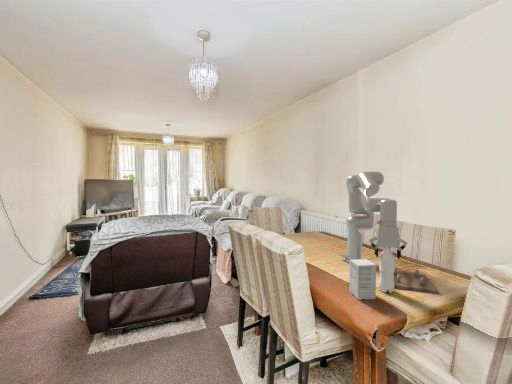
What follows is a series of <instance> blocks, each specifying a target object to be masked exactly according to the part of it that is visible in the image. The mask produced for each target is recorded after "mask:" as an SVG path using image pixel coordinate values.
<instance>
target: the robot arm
mask: <svg viewBox="0 0 512 384" xmlns="http://www.w3.org/2000/svg"><path fill="white" fill-rule="evenodd" d="M384 181H385V178H384V174H383V173H382V172H380V171H362V172H360V173H359V174H353V175H349V176H347V178H346V183H345V184H346V188H347V192H348V211H349V213H350V214H352V215H351V216H348V217H347V218H346V221H345V222H346V229H347V230H346V231H347V244H346V245H347V249H346V250H347V252H346V253H345V254H343V253H340V257H341V258H343V259H344V261H345V262H346V263H349V264H350V260H356V259H363V235H362V234H361V231H369V230H370V231H371V230H373V228H374V226H375V213H379V220H377V221H376V224H377V225H378V226H377V231H376V236H374V237H372V238H370V239H368V240H369V243H370V245H371V246H372V248H374V255H375V257H376V258H378V257H379V248H380V247H382V248H384V247H391V248H396V258H397V259H398V260H400V259H401V256H402V251H403V250H404V249H405V248H406V246H407V245H408V242H407V241H405V240H403V239H402V238H401V237H400V236H401V235H400V229H399V227H398V226H397V225H398V224H397V223H398V222H397V220H398V219H397V217H398V202H397V200H395V199H391V198H388V197H373V196H375V195H377V194H378V193H379V192H380V188H381V187H380V186H381V185H383V184H384ZM361 189H362V190H363V191H361ZM375 241H376V244H374V242H375ZM401 243H402V244H401ZM400 245H401V246H400Z"/></svg>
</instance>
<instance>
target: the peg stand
mask: <svg viewBox="0 0 512 384" xmlns="http://www.w3.org/2000/svg"><path fill="white" fill-rule="evenodd" d="M419 272H420V271H419V269H415V273H413V272H404V271H398V268H397V267H396V266H395V271H394V289H397V290H398V289H399V290H406V291H413V292H422V293H428V294H429V293H430V294H431V293H432V294H437V295H438V294H439V290H438V289H437V287H436V286H435V285H434V284H433V282H432V281H431V280H430V279H429V277H428V276H427V275H426V274H424V273H423V274H421V273H419Z"/></svg>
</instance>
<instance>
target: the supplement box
mask: <svg viewBox="0 0 512 384" xmlns="http://www.w3.org/2000/svg"><path fill="white" fill-rule="evenodd" d="M376 284H377V265H376V264H375V263H373V262H372V261H370V260H368V259H366V258H364V259H363V258H362V259H356V260H350V263H349V286H348V287H349V289H348V292H349V291H350V292H351V293H352V294H353V295H354V296H355V297H356V298H357V299H358V300H357V299H356V298H355V297H354V296H353V295H352V294H351V293H350V292H349V293H350V294H351V295H352V296H353V297H354V298H355V299H356V300H357V301H360V300H362V299H365V300H376V297H377V296H376V295H377V292H376V291H377V285H376ZM362 301H363V300H362Z"/></svg>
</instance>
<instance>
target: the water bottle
mask: <svg viewBox="0 0 512 384" xmlns="http://www.w3.org/2000/svg"><path fill="white" fill-rule="evenodd" d="M378 257H379V262H378V263H379V266H378V267H379V268H378V269H379V280H378V289H379V290H380V291H381V292H382V293H387V292H388V293H389V294H391V293H393V292H394V290H395V288H394V271H395V267H396V266H395V265H396V264H395V262H396V258H395V255H394V254H393V251H392V247H383V250H382V252H381V253H380V255H379V256H378Z"/></svg>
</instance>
